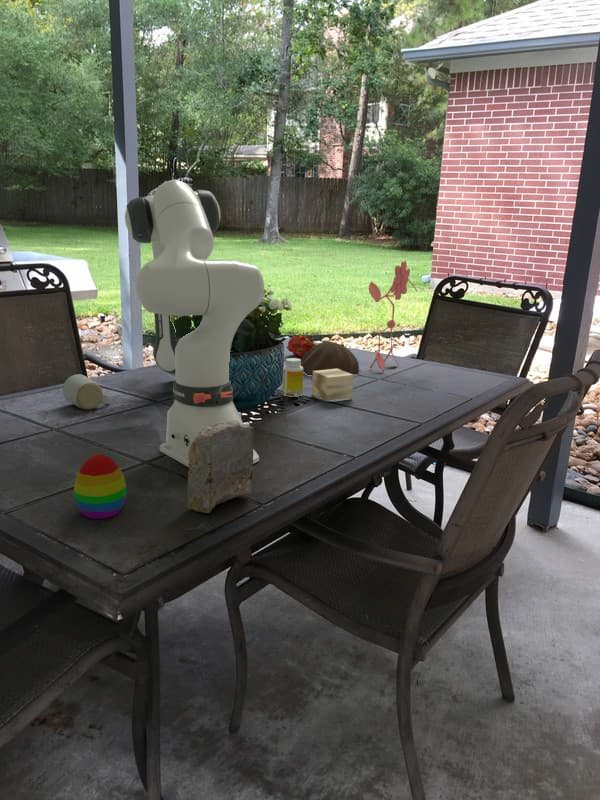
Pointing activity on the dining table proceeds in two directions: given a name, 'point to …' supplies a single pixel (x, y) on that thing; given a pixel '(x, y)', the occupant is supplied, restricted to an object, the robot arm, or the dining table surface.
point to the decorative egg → (100, 487)
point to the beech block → (332, 384)
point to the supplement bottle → (293, 378)
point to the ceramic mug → (84, 392)
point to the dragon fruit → (300, 345)
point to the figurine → (399, 288)
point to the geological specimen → (220, 465)
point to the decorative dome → (329, 359)
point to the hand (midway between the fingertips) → (263, 373)
